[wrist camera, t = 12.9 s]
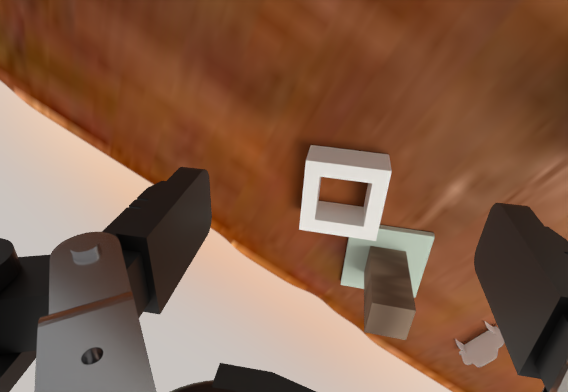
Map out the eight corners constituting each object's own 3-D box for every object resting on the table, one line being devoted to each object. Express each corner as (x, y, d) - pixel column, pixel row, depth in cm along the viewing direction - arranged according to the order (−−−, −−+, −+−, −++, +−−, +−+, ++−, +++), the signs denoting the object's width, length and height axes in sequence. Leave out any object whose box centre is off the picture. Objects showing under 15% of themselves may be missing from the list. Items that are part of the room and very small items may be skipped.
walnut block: (406, 251, 43) (415, 310, 35) (398, 278, 45) (405, 339, 37) (370, 245, 43) (372, 302, 35) (363, 272, 45) (364, 332, 37)
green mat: (433, 232, 42) (434, 236, 41) (414, 292, 46) (415, 297, 45) (351, 220, 43) (351, 224, 42) (340, 280, 47) (340, 284, 47)
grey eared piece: (475, 358, 50) (485, 389, 47) (438, 333, 49) (444, 363, 46) (581, 298, 43) (603, 329, 39) (539, 267, 42) (557, 295, 38)
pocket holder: (388, 154, 38) (391, 171, 35) (374, 220, 42) (375, 241, 39) (310, 144, 39) (305, 160, 36) (304, 209, 43) (299, 229, 40)
